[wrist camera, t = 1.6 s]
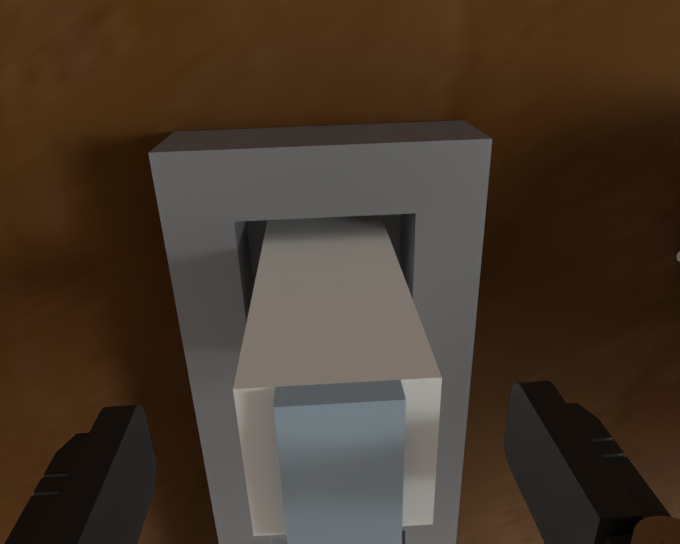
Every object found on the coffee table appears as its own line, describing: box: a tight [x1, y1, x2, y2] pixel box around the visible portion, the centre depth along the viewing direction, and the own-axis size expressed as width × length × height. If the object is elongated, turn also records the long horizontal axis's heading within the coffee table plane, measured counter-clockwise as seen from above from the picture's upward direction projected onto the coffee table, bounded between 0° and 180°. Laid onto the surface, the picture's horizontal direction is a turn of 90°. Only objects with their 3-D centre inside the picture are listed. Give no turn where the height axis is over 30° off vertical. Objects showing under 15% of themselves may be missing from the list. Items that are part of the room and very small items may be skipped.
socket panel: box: [148, 120, 492, 544], centre depth 22 cm, size 10×24×4 cm, turn 2°
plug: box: [233, 215, 442, 544], centre depth 15 cm, size 4×4×11 cm
